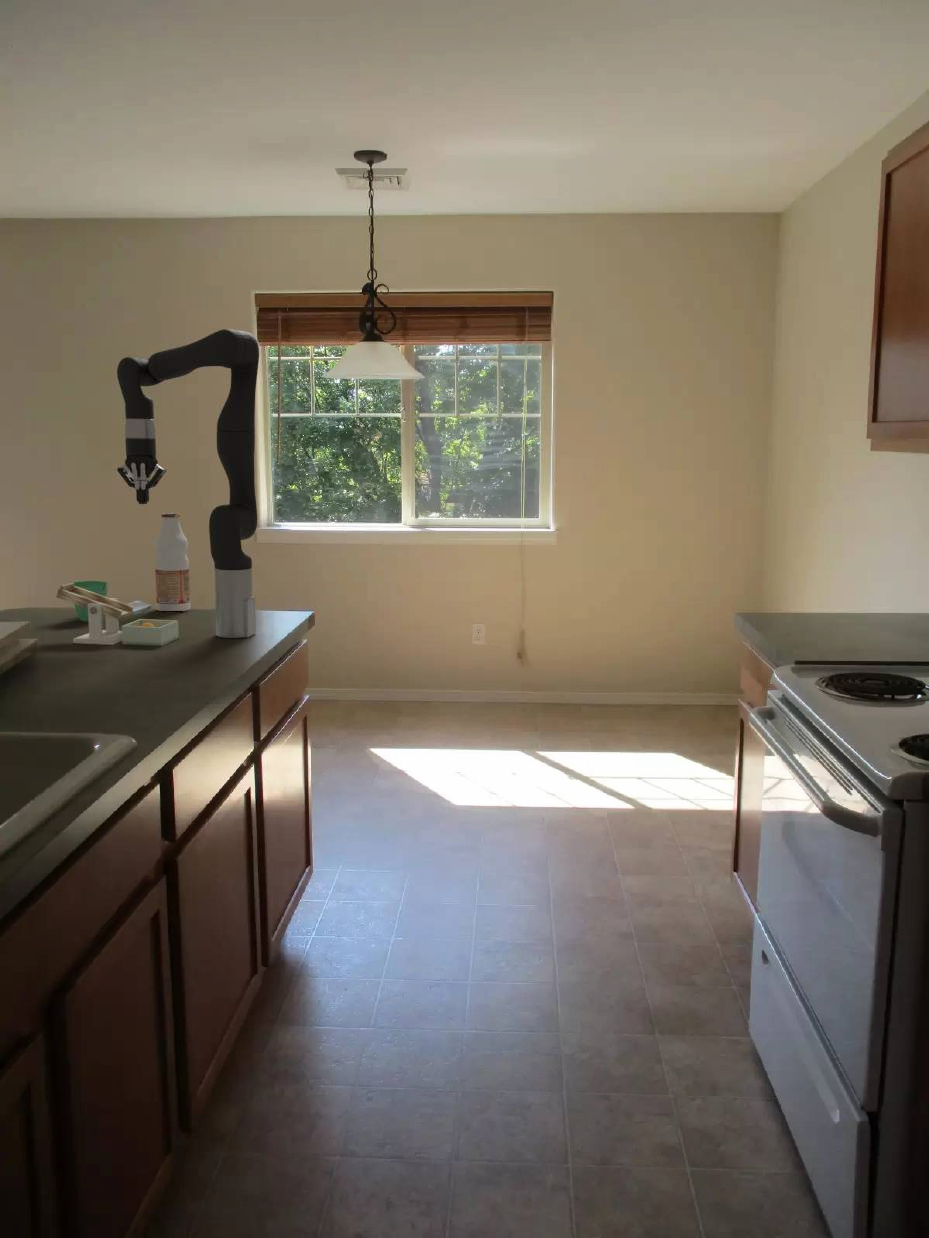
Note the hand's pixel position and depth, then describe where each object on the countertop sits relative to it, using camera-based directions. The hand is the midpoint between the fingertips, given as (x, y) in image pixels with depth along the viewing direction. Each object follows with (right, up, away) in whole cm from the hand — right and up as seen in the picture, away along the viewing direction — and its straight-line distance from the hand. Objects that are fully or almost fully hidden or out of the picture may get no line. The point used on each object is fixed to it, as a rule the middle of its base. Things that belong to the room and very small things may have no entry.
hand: (142, 503), depth 265 cm
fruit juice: (0, -28, +27) cm, 39 cm away
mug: (-18, -30, +12) cm, 37 cm away
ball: (+7, -33, -18) cm, 38 cm away
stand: (-4, -35, -16) cm, 39 cm away
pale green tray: (+7, -36, -17) cm, 40 cm away
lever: (-6, -26, -12) cm, 29 cm away
